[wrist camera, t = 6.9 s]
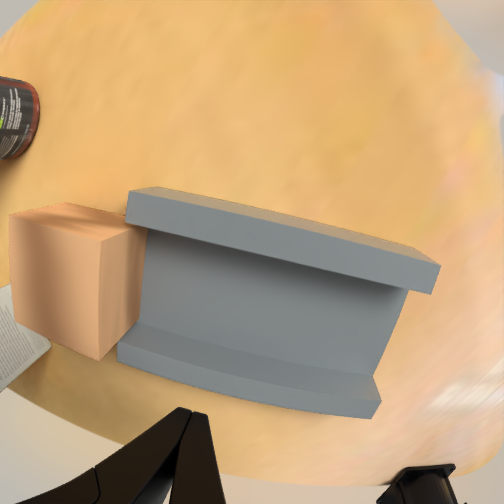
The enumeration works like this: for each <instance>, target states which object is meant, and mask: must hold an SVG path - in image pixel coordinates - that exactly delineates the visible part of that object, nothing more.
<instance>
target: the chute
mask: <svg viewBox="0 0 504 504" xmlns="http://www.w3.org/2000/svg"><path fill="white" fill-rule="evenodd" d="M125 222H126V223H130V224H134V225H139V226H143V227H147V228H148V236H147V243H146V252H145V260H144V270H143V279H142V290H141V302H140V315H139V319H138V320H137V321H136V323H135V324H134V325H133V326H132V327H131V328H130V329H129V330H128V331H127V332H126V333H125V334H124V335H123V336H122V337H121V339H120V340H119V341H118V342H117V361H118V362H120V363H123V364H126V365H128V366H131V367H134V368H137V369H140V370H142V371H145V372H148V373H151V374H154V375H157V376H160V377H163V378H167V379H170V380H173V381H176V382H180V383H183V384H186V385H190V386H193V387H197V388H200V389H204V390H208V391H212V392H215V393H219V394H223V395H227V396H231V397H236V398H240V399H244V400H249V401H253V402H258V403H263V404H268V405H273V406H278V407H283V408H289V409H295V410H301V411H307V412H313V413H320V414H328V415H335V416H344V417H353V418H363V419H371V418H372V417H373V415H374V413H375V412H376V410H377V408H378V406H379V405H380V403H381V401H382V400H381V397H380V395H379V392H378V389H377V387H376V384H375V381H374V378H373V374H374V372H375V370H376V368H377V366H378V363H379V361H380V359H381V357H382V355H383V352H384V350H385V348H386V346H387V343H388V341H389V339H390V337H391V334H392V332H393V329H394V327H395V325H396V322H397V320H398V317H399V315H400V312H401V310H402V307H403V304H404V302H405V299H406V296H407V294H408V291H409V290H413V291H417V292H421V293H426V294H430V295H431V293H432V290H433V288H434V285H435V282H436V279H437V276H438V273H439V271H440V268H441V265H439V264H438V263H436V262H435V261H433V260H432V259H430V258H429V257H427V256H426V255H424V254H423V253H421V252H420V251H418V250H416V249H415V248H412V247H408V246H405V245H401V244H398V243H394V242H390V241H387V240H383V239H380V238H376V237H372V236H368V235H365V234H361V233H357V232H353V231H350V230H346V229H342V228H338V227H334V226H330V225H326V224H322V223H319V222H315V221H310V220H306V219H302V218H298V217H294V216H290V215H286V214H282V213H277V212H273V211H269V210H265V209H260V208H256V207H252V206H247V205H243V204H238V203H234V202H229V201H225V200H220V199H215V198H211V197H206V196H201V195H196V194H192V193H187V192H182V191H177V190H172V189H167V188H162V187H151V188H144V189H138V190H131V191H129V194H128V201H127V209H126V216H125Z"/></svg>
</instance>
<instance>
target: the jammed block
mask: <svg viewBox="0 0 504 504" xmlns="http://www.w3.org/2000/svg"><path fill="white" fill-rule="evenodd" d="M147 236H148V228H147V227H143V226H139V225H134V224H130V223H126V222H125V216H124V215H119V214H115V213H111V212H106V211H102V210H97V209H93V208H89V207H84V206H80V205H75V204H71V203H66V202H65V203H60V204H55V205H50V206H46V207H41V208H37V209H32V210H28V211H23V212H19V213H15V214H11V215H9V264H10V280H11V292H12V302H13V310H14V318H15V322H17V323H19V324H21V325H23V326H24V327H26V328H28V329H30V330H32V331H34V332H36V333H38V334H40V335H42V336H44V337H46V338H48V339H50V340H52V341H54V342H56V343H58V344H60V345H63V346H65V347H67V348H69V349H71V350H74V351H76V352H78V353H80V354H83V355H85V356H87V357H90V358H92V359H94V360H97V361H100V360H101V359H102V358H103V357H104V356H105V355H106V354H107V353H108V351H109V350H110V349H111V348H112V347H113V346H114V345H115V344H116V343H117V342H118V341H119V340H120V339H121V337H122V336H123V335H124V334H125V333H126V332H127V331H128V330H129V329H130V328H131V327H132V326H133V325H134V324H135V323H136V321H137V320H138V319H139V315H140V302H141V290H142V279H143V270H144V260H145V252H146V243H147Z"/></svg>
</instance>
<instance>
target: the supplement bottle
mask: <svg viewBox="0 0 504 504" xmlns="http://www.w3.org/2000/svg"><path fill="white" fill-rule="evenodd" d="M39 103H40V102H39V98H38V94H37V92H36V90H35V88H34V87H33V86H32V85H31V84H30V83H27V82H24V81H21V80H16V79H12V78H7V77H1V76H0V160H3V159H11V158H14V157H17V156H18V155H20V154H21V153H22V152H23V151H24V150H25V149H26V148H27V147H28V145H29V143H30V142H31V141H32V138H33V136H34V134H35V131H36V128H37V125H38V120H39V112H40V111H39V110H40V104H39Z"/></svg>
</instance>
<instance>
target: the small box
mask: <svg viewBox="0 0 504 504" xmlns="http://www.w3.org/2000/svg"><path fill="white" fill-rule="evenodd" d="M51 346H52V345H51V343H50V341H49V340H48V338H46V337H44V336H42V335H40V334H38V333H36V332H34V331H32V330H30V329H28V328H26V327H24V326H23V325H21V324H19V323H17V322H15V318H14V310H13V302H12V292H11V283H9V284H7V285H6V286H4V287H2V288H0V392H2V391H3V390H4V389H5V388H6V387H7V386H8V385H9V384H10V383H11V382H13V381H14V380H15V379H16V378H17V377H18V376H19V375H20V374H21V373H23V372H24V371H25V370H26V369H27V368H28V367H29V366H31V365H32V364H33V363H34V362H35V361H37V360H38V359H39V358H40V357H41V356H42V355H43V354H45V353H46V352H47V351H48V350H49V349H50V348H51Z"/></svg>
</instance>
